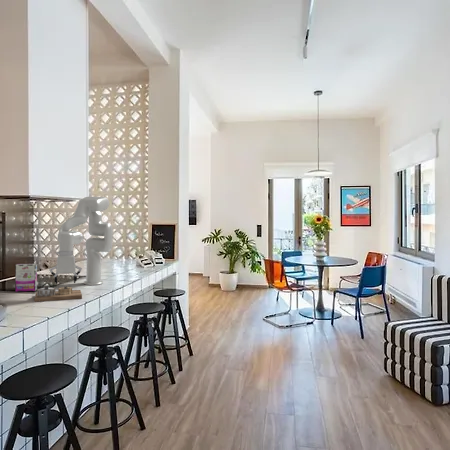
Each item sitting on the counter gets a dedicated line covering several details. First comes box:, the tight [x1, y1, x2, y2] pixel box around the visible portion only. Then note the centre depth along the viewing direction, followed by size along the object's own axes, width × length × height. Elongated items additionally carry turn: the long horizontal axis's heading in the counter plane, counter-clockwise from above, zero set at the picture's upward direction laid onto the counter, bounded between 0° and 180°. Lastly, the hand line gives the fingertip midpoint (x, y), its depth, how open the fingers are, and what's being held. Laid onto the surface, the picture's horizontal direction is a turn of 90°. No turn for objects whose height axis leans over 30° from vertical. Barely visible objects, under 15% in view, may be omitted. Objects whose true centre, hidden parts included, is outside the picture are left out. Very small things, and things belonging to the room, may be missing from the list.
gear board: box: [34, 284, 83, 303], centre depth 208 cm, size 15×24×7 cm, turn 115°
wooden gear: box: [57, 286, 73, 295], centre depth 209 cm, size 7×7×3 cm
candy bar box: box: [14, 263, 38, 293], centre depth 221 cm, size 11×5×16 cm, turn 106°
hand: (65, 282), depth 209 cm, fingers open, 9 cm apart
